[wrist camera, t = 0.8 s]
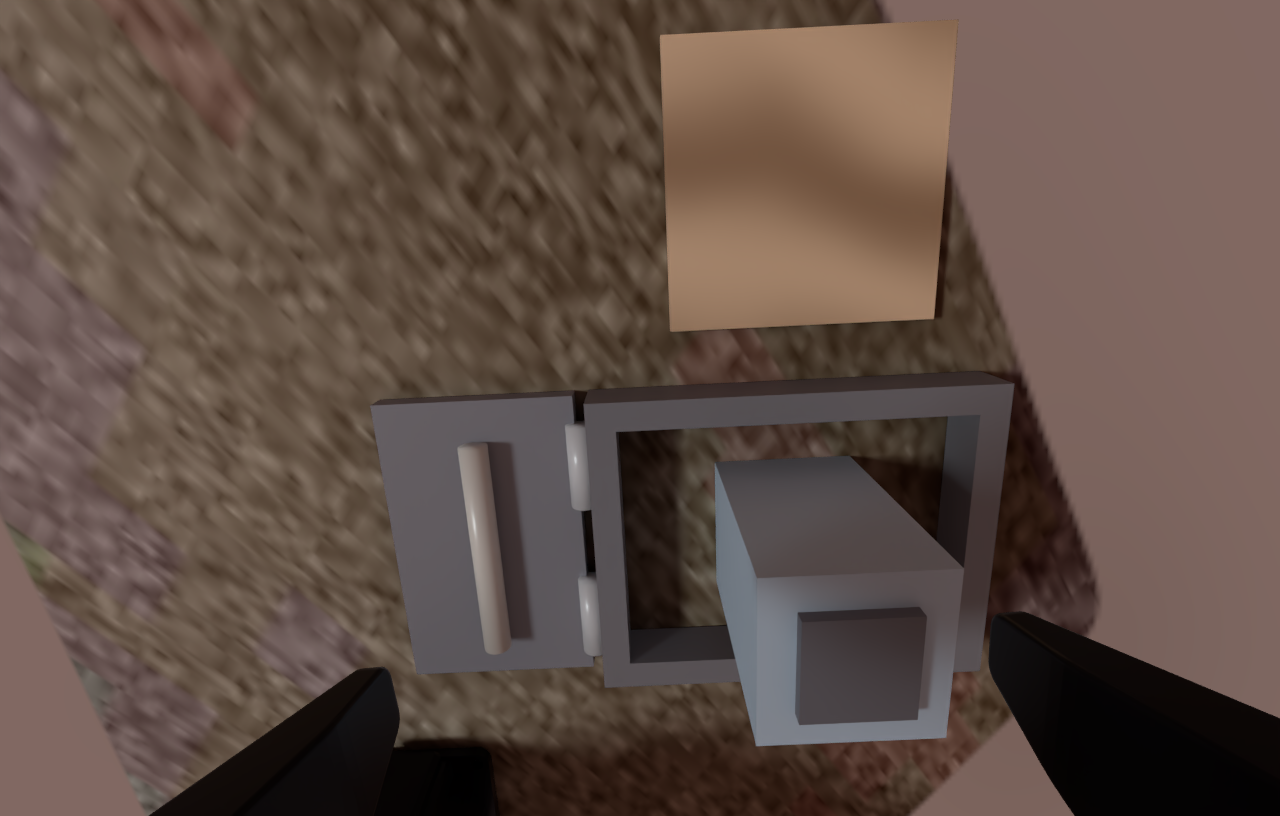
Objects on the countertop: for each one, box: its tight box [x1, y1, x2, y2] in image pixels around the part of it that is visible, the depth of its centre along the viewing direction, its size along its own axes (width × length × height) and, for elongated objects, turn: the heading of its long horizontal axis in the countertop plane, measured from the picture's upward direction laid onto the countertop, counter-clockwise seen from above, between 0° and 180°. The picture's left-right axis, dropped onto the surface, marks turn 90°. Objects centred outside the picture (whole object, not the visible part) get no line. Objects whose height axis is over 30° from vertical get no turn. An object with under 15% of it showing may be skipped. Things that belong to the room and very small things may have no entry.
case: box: [370, 371, 1014, 688], centre depth 22 cm, size 11×22×2 cm, turn 93°
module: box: [715, 456, 964, 746], centre depth 19 cm, size 5×5×8 cm
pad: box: [660, 20, 958, 332], centre depth 19 cm, size 9×9×1 cm
